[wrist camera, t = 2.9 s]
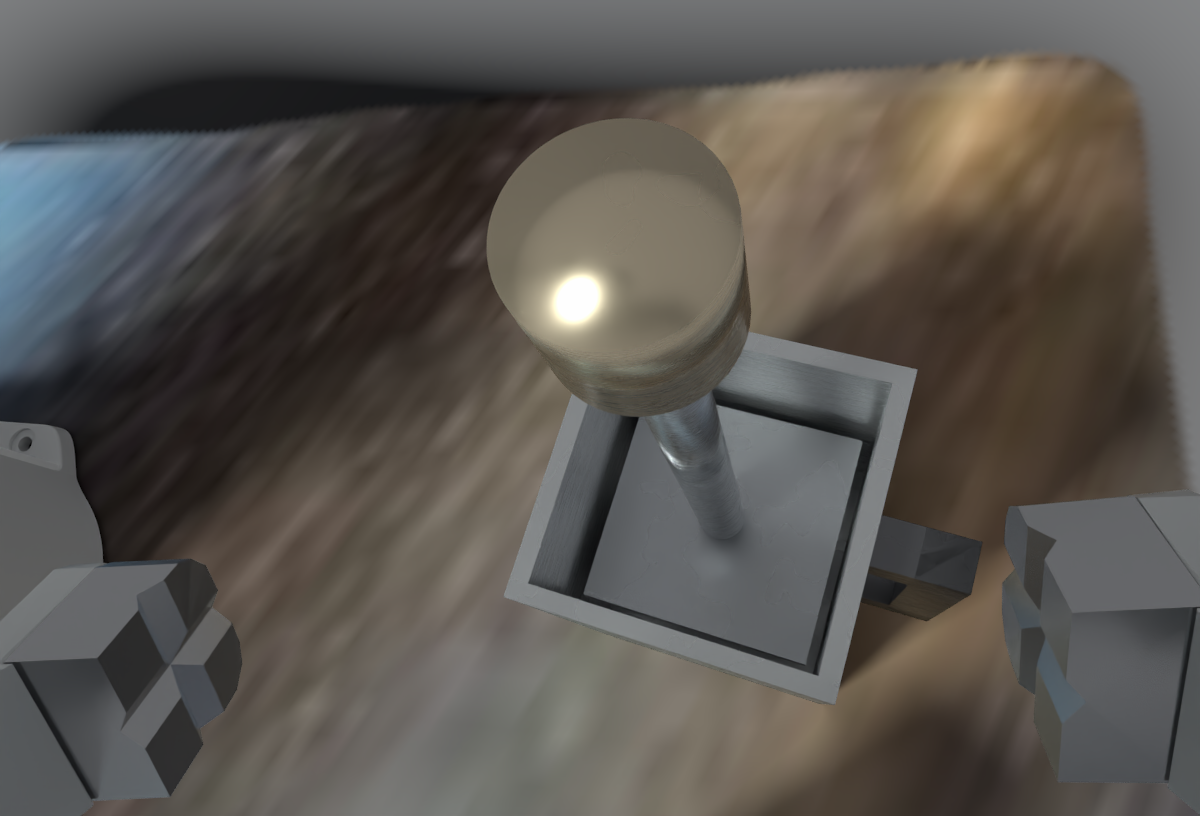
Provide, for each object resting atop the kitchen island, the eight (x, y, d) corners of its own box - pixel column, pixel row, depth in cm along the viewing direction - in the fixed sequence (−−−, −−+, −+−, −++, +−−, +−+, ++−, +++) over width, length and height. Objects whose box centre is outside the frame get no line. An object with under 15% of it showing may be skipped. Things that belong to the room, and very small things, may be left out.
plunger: (588, 597, 34) (258, 427, 13) (652, 396, 36) (452, -36, 15) (805, 665, 32) (826, 594, 11) (860, 448, 34) (971, 28, 13)
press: (604, 633, 43) (503, 597, 28) (666, 432, 45) (603, 299, 30) (890, 726, 40) (948, 741, 25) (941, 503, 42) (1024, 393, 27)
